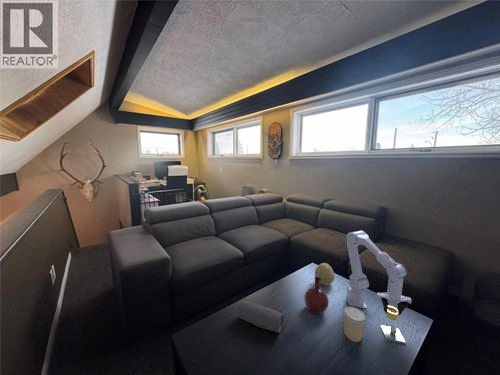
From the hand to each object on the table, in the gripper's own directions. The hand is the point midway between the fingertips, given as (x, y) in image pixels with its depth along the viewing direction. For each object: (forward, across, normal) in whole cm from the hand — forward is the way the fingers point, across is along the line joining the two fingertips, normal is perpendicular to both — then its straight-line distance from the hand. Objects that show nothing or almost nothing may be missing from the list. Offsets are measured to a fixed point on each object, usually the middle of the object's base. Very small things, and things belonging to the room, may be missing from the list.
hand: (391, 312), depth 101 cm
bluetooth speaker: (+9, -66, -15) cm, 68 cm away
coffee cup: (+9, -20, -9) cm, 24 cm away
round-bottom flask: (+9, -37, +3) cm, 38 cm away
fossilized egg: (+9, -29, +30) cm, 43 cm away
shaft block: (+9, -1, -4) cm, 10 cm away
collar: (+2, 0, 0) cm, 2 cm away
